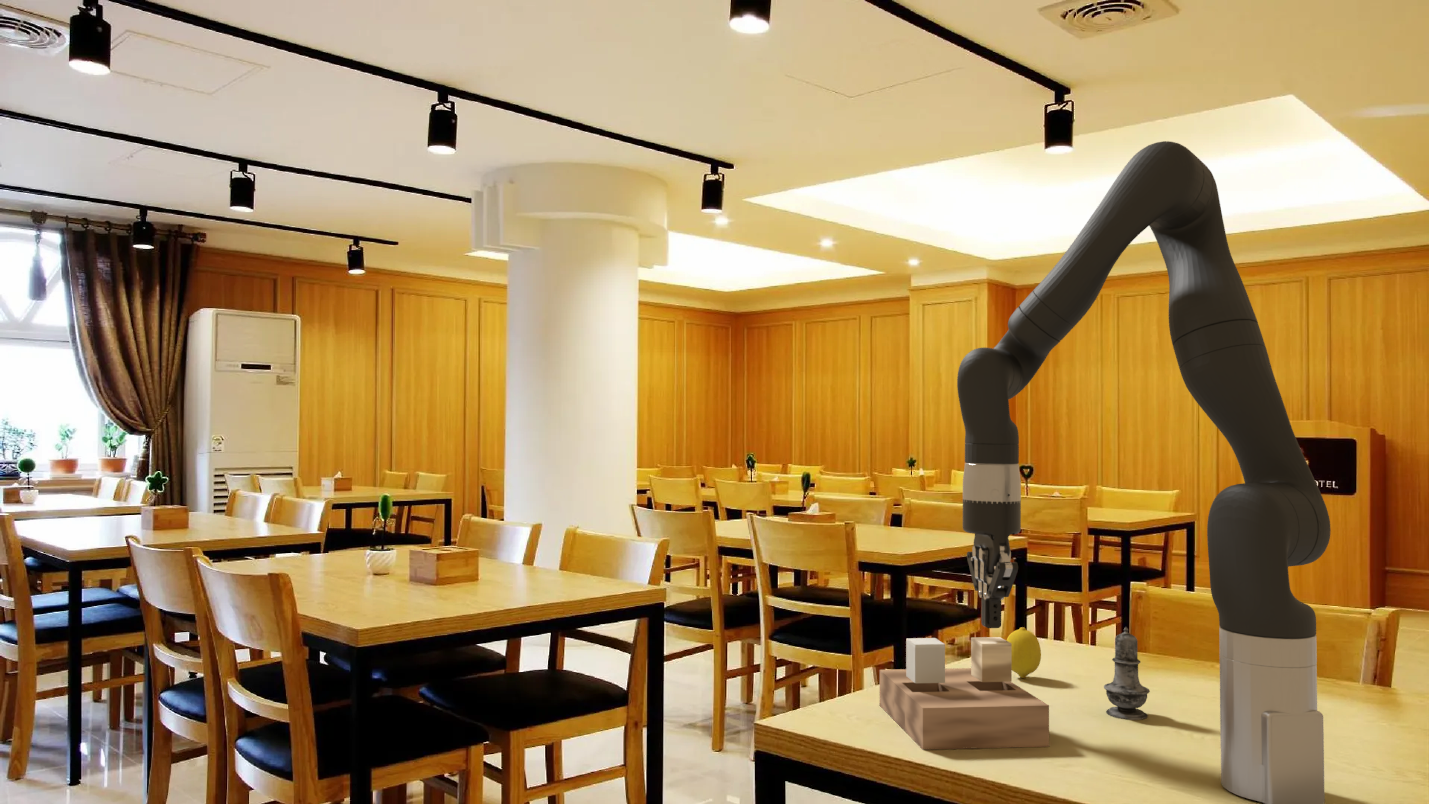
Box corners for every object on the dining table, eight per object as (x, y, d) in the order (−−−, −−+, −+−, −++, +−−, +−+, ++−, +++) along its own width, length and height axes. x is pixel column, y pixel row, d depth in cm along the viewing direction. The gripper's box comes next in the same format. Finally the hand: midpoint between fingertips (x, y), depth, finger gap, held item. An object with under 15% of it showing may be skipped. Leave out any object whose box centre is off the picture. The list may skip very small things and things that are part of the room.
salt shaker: (1154, 721, 133) (1153, 631, 134) (1108, 718, 135) (1107, 629, 135) (1144, 709, 139) (1143, 623, 140) (1100, 707, 140) (1099, 622, 141)
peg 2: (1011, 681, 130) (1011, 643, 130) (982, 682, 130) (982, 643, 130) (999, 674, 134) (999, 637, 134) (971, 674, 134) (971, 637, 134)
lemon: (997, 675, 159) (997, 625, 159) (1024, 672, 161) (1023, 623, 161) (1021, 683, 154) (1021, 631, 154) (1048, 680, 156) (1048, 629, 156)
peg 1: (945, 682, 129) (944, 644, 130) (915, 683, 129) (915, 644, 129) (935, 675, 133) (935, 638, 134) (906, 675, 133) (906, 638, 133)
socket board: (1049, 746, 122) (1049, 705, 122) (922, 749, 121) (922, 708, 121) (988, 703, 142) (988, 667, 142) (879, 705, 141) (879, 669, 141)
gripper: (1039, 501, 127) (1038, 637, 126) (999, 494, 140) (999, 617, 139) (982, 500, 126) (981, 637, 126) (948, 493, 139) (947, 617, 139)
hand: (991, 626), depth 133 cm, fingers closed
